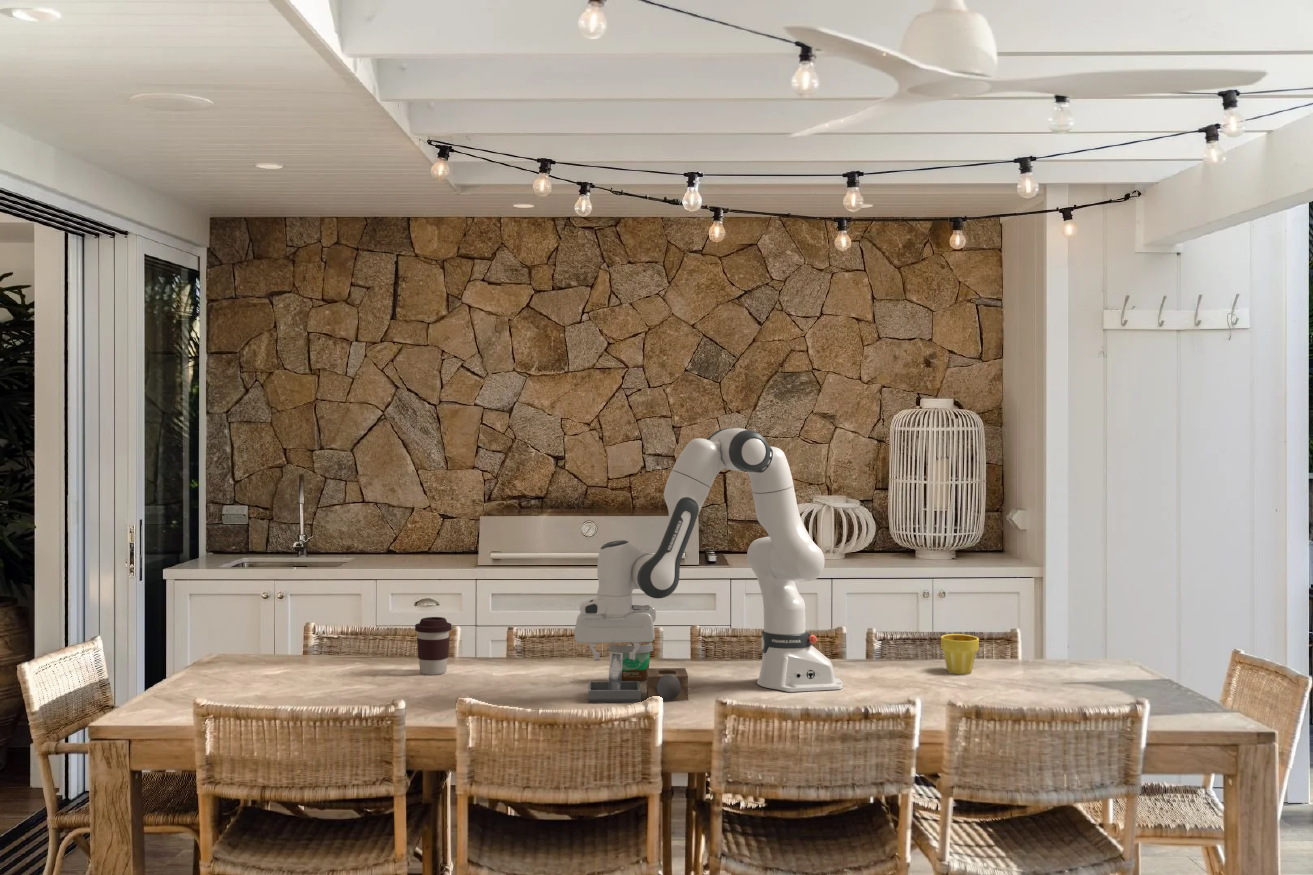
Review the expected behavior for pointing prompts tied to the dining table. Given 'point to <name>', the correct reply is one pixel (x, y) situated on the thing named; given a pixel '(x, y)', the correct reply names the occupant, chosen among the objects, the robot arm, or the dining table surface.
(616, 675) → the lock pin
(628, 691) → the tray
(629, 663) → the food container
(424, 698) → the dining table surface
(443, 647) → the coffee cup
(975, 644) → the plant pot
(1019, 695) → the dining table surface
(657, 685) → the block
